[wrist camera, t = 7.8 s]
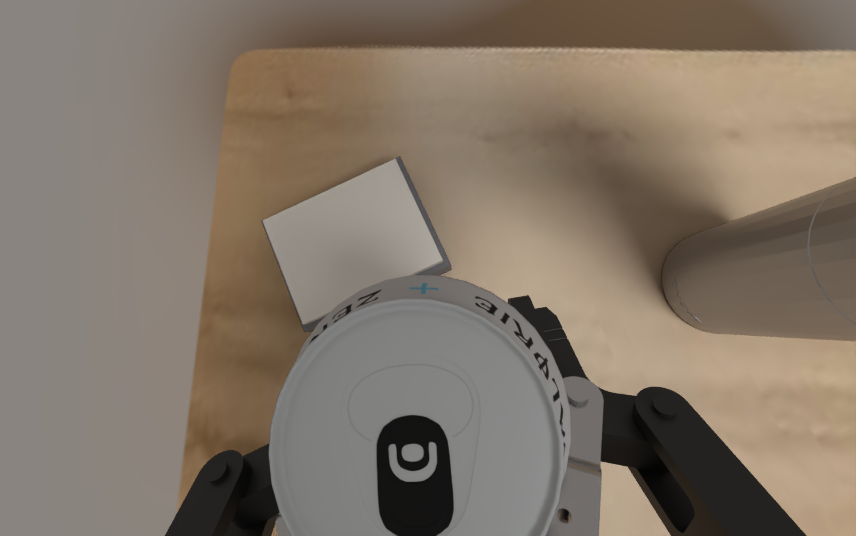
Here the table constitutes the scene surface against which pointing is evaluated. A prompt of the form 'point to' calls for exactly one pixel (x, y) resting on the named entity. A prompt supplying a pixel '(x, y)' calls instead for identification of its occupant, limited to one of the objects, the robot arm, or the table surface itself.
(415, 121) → the table surface
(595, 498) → the robot arm
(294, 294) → the podium
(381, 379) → the energy drink can
